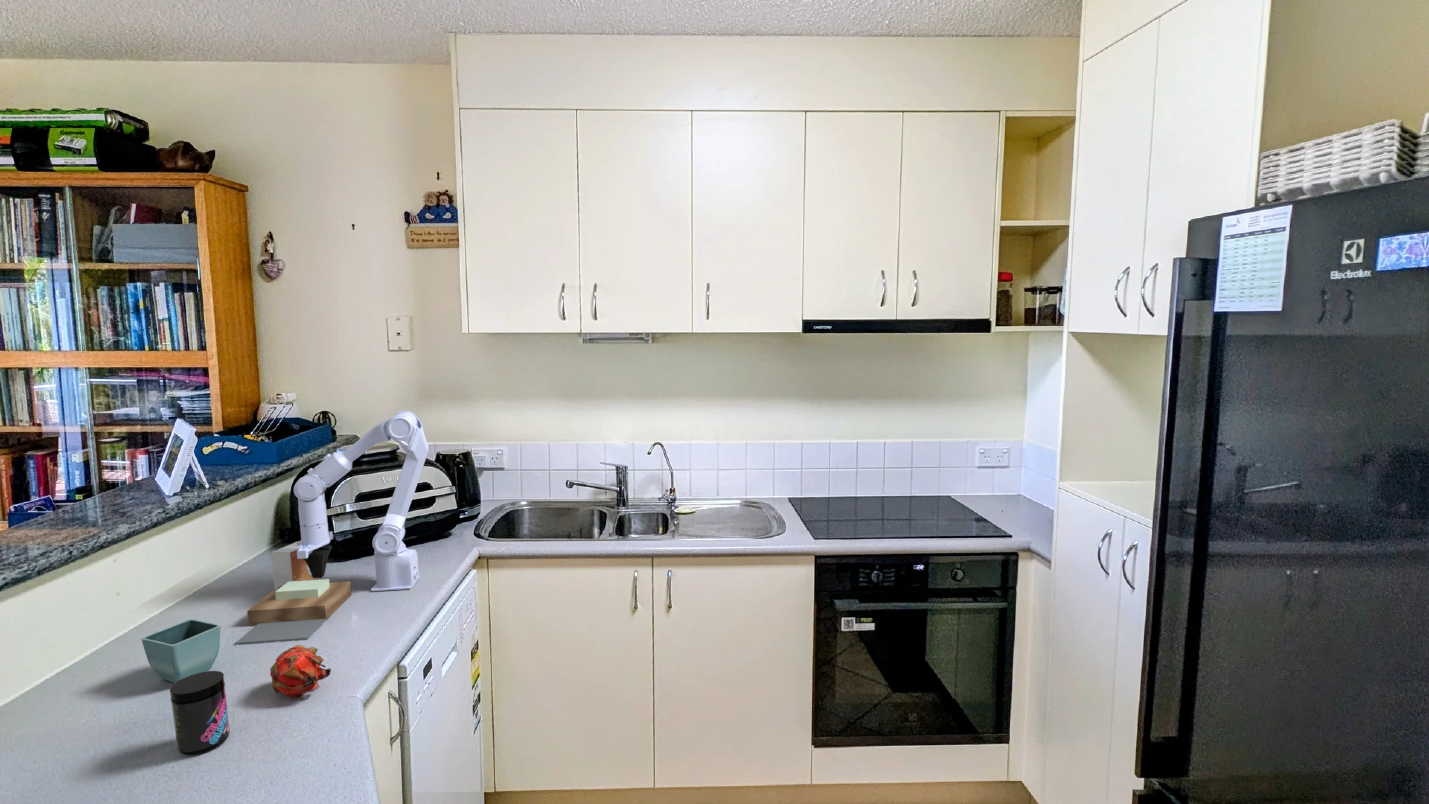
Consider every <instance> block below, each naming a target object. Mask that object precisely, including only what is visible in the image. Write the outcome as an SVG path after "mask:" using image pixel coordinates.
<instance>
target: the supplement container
mask: <svg viewBox="0 0 1429 804" xmlns="http://www.w3.org/2000/svg"><path fill="white" fill-rule="evenodd" d="M169 694H170V702H171V709H172V716H173V724H174V732H175V742H176V749H177V751H178V753H179V754H181V755H183V756H187V755H188V756H198V755H201V754H202V755H203V754H206V753H208V752H211V751H213V750H215V749H217V748H218V747H220V746H221V745H223V744H224V743H225V742H226V741H227V740H228V738H229V736H230V733H231V729H230V719H229V711H228V704H227V703H228V702H227V692H226V682H225V674H224V673H223V672H222V671H219V670H209V671H207V672H201V673H197V674H193V675H190V676H188V677H185V678H183V679H181V680H179V681H177V682H176V683H173V684H172V685H171V686H170V688H169Z"/></svg>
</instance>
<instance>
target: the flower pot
mask: <svg viewBox="0 0 1429 804" xmlns="http://www.w3.org/2000/svg"><path fill="white" fill-rule="evenodd" d="M221 628H222V624H219V623H214V622H210V621H209V622H208V621H203V620H200V619H193V618H190V619H187V620H184V621H181V622H179V623H177V624H175V625H172V626H169V627H167V628H165V629H162V630H159V631H157V632H154V633H151V634H149V635H146V636H144V637H142V638H141V642H142V646H143V650H144V652H145V655H146V659H147V662H148V664H149V666H150V668H151V669H152V670H153V671H154V673H155V674H156V675H157V676H158V677H160V678H161V679H162V680H164V681H167V682H170V683H171V682H172V683H173V684H175V683H176V682H177V681H179V680H181V679H183V678H185V677H188V676H190V675H193V674H197V673H201V672H207V671H211V668H212V667H213V665H214V664H215V662H216V659H217V657H218V655H219V651H220V645H221V644H220V643H221V631H222V630H221Z"/></svg>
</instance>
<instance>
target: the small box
mask: <svg viewBox="0 0 1429 804" xmlns="http://www.w3.org/2000/svg"><path fill="white" fill-rule="evenodd" d="M297 542H298V541H295V542H293V543H291V544H287V545H285V546H284V547H280V548H278V549H275V550H272V551H270V553H271V554H270V555H271V556H270V557H271V564H272V565H271V566H272V574H273V585H274V586H273V587H274V590H275V589H276V588H277V587H279V586H283V585H285V584H286V583H287V582H291V581H307V580H319V578H313V577H312V574H311V572H310V569H309V567H308V565H307V563H306V562H305V560H304V559H297V551H298V550H299V548H300V546H297Z"/></svg>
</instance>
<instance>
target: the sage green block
mask: <svg viewBox="0 0 1429 804" xmlns="http://www.w3.org/2000/svg"><path fill="white" fill-rule="evenodd" d="M329 583H330V579H329V578H326V579H325V578H324V579H323V578H322V579H318V580H307V581H291V582H287V583H286V584H285V585H283V586H282V587H281V588H280V589H278V590H277V591H276V592H275V595H276V600H288V599H303V598H318V597H319V596H320V595H322V594H323V593H324V592H325V591H326V590H327V589H328V588H329V587H330V586H329Z"/></svg>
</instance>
